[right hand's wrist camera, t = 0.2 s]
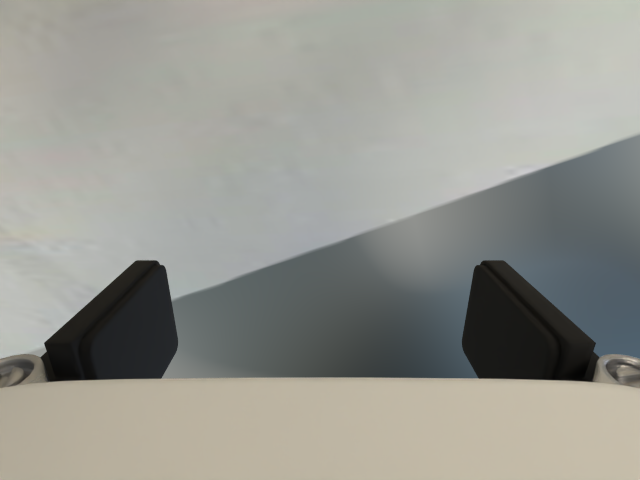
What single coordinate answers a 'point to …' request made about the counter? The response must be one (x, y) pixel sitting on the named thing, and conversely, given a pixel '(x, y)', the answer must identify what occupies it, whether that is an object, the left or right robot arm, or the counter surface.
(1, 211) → the counter surface
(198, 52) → the counter surface
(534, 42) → the counter surface
